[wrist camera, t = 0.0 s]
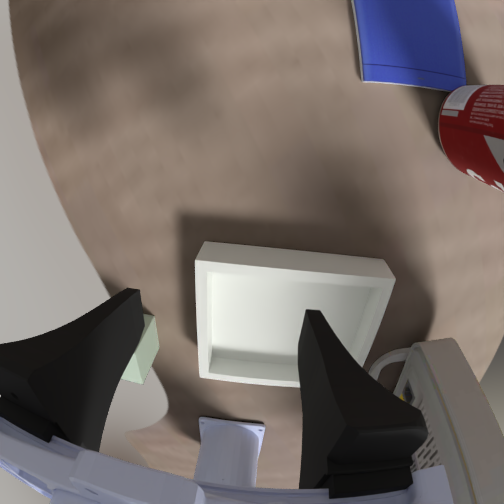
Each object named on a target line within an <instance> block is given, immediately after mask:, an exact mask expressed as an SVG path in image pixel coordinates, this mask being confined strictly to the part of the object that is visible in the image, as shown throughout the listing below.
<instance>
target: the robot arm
mask: <svg viewBox="0 0 504 504" xmlns="http://www.w3.org/2000/svg"><path fill="white" fill-rule="evenodd" d="M144 327H145V322H144V315H143V309H142V302H141V296H140V290H139V289H132V288H126V289H124V290H123V291H121V292H119V293H118V294H116V295H115V296H113V297H112V298H110V299H109V300H107V301H105V302H104V303H102V304H101V305H99V306H98V307H96V308H95V309H93V310H91V311H90V312H88V313H86V314H85V315H83V316H81V317H79V318H78V319H76V320H74V321H72V322H70V323H68V324H66V325H64V326H62V327H59V328H57V329H55V330H52V331H49V332H47V333H44V334H42V335H38V336H35V337H32V338H28V339H25V340H20V341H16V342H10V343H4V344H0V395H1V397H0V467H1V468H3V469H4V470H6V471H7V472H9V473H10V474H11V475H13V476H14V477H16V478H18V479H19V480H20V481H22V482H23V483H25V484H27V485H28V486H30V487H31V488H33V489H35V490H36V491H38V492H40V493H41V494H43V495H44V496H46V497H48V498H50V499H51V501H50V503H49V504H454V503H453V498H452V494H451V490H450V486H449V482H448V478H447V474H446V471H445V467H444V465H438V466H434V467H429V468H425V469H420V470H417V471H415V472H413V473H411V469H410V466H412V465H413V460H412V455H413V454H414V453H415V452H416V451H417V450H418V449H419V448H420V447H421V445H422V444H423V443H424V442H425V440H426V439H427V437H428V434H429V432H428V429H427V426H426V422H425V419H424V417H423V414H422V412H421V410H419V409H417V408H416V407H414V406H412V405H410V404H408V403H407V402H405V401H403V400H402V399H400V398H399V397H397V396H396V395H394V394H393V393H391V392H390V391H389V390H387V389H386V388H385V387H383V386H382V385H381V384H380V383H378V382H377V381H376V380H375V379H374V378H373V377H371V376H370V375H369V374H368V373H367V372H366V371H365V370H364V369H363V368H362V367H361V366H360V365H359V364H358V363H357V362H356V360H355V359H354V358H353V357H352V356H351V354H350V353H349V352H348V351H347V349H346V348H345V347H344V345H343V344H342V343H341V341H340V340H339V338H338V337H337V336H336V334H335V333H334V331H333V330H332V328H331V326H330V325H329V323H328V322H327V320H326V319H325V317H324V315H323V314H322V312H321V311H320V310H312V309H306V310H305V315H304V320H303V324H302V329H301V333H300V337H299V342H298V373H299V382H300V391H301V400H302V411H303V432H302V456H301V471H300V482H299V489H273V488H257V487H255V486H256V474H257V462H258V456H259V453H260V449H261V444H262V440H263V436H264V431H265V425H264V424H256V423H246V422H237V421H228V420H221V419H214V418H207V417H200V418H199V428H200V436H201V446H200V451H199V455H198V460H197V465H196V469H195V474H194V479H189V478H185V477H182V476H179V475H175V474H172V473H168V472H164V471H160V470H156V469H152V468H148V467H144V466H141V465H137V464H134V463H130V462H127V461H123V460H121V459H117V458H114V457H111V456H108V455H105V454H103V453H100V452H99V448H100V443H101V438H102V433H103V430H104V426H105V422H106V418H107V415H108V411H109V408H110V405H111V402H112V399H113V396H114V393H115V390H116V388H117V385H118V383H119V381H120V379H121V377H122V375H123V373H124V371H125V369H126V367H127V365H128V363H129V361H130V360H131V358H132V356H133V354H134V352H135V350H136V348H137V346H138V344H139V341H140V339H141V336H142V333H143V330H144Z"/></svg>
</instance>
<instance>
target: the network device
mask: <svg viewBox="0 0 504 504" xmlns="http://www.w3.org/2000/svg"><path fill="white" fill-rule="evenodd" d="M400 361H406V362H405V365H404V368H403V370H402V373H401V375H400V378H399V380H398V383H397V385H396V388H395V390H394V392H393V394H394V395H396V396H397V397H399V398H400V399H402V400H403V401H405V402H407V403H408V404H410V405H412V406H414V407H416V408H417V409H419V410H421V412H422V414H423V417H424V419H425V422H426V426H427V429H428V432H429V434H428V437H427V439H426V440H425V442H424V443H423V444H422V445H421V447H420V448H419V449H418V450H417V451H416V452H415V453H414V454H413V455H412V460H413V465H412V466H410V469H411V473H413V472H415V471H417V470H420V469H425V468H429V467H434V466H438V465H444V467H445V471H446V474H447V478H448V482H449V486H450V490H451V494H452V498H453V503H454V504H504V436H503V434H502V431H501V429H500V427H499V424H498V422H497V420H496V418H495V415H494V413H493V411H492V409H491V407H490V405H489V402H488V400H487V398H486V396H485V394H484V392H483V390H482V389H481V386H480V384H479V382H478V380H477V378H476V377H475V375H474V373H473V371H472V369H471V367H470V365H469V364H468V362H467V360H466V358H465V356H464V355H463V353H462V351H461V349H460V347H459V346H458V344H457V342H456V341H455V340H454V339H453V338H445V339H439V340H431V341H424V342H416V343H414V344H413V345H412V346H411V347H410V348H402V349H397V350H393V351H390V352H388V353H386V354H384V355H383V356H381V357H380V358H378V359H377V360H376V361H375V362H374V363H373V365H372V366H371V368H370V370H369V373H368V374H369V375H370V376H371V377H373V378H374V379H375V380H376V381H377V379H378V376H379V373H380V371H381V369H382V368H383V367H384V366H386V365H387V364H389V363H393V362H400Z"/></svg>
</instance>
